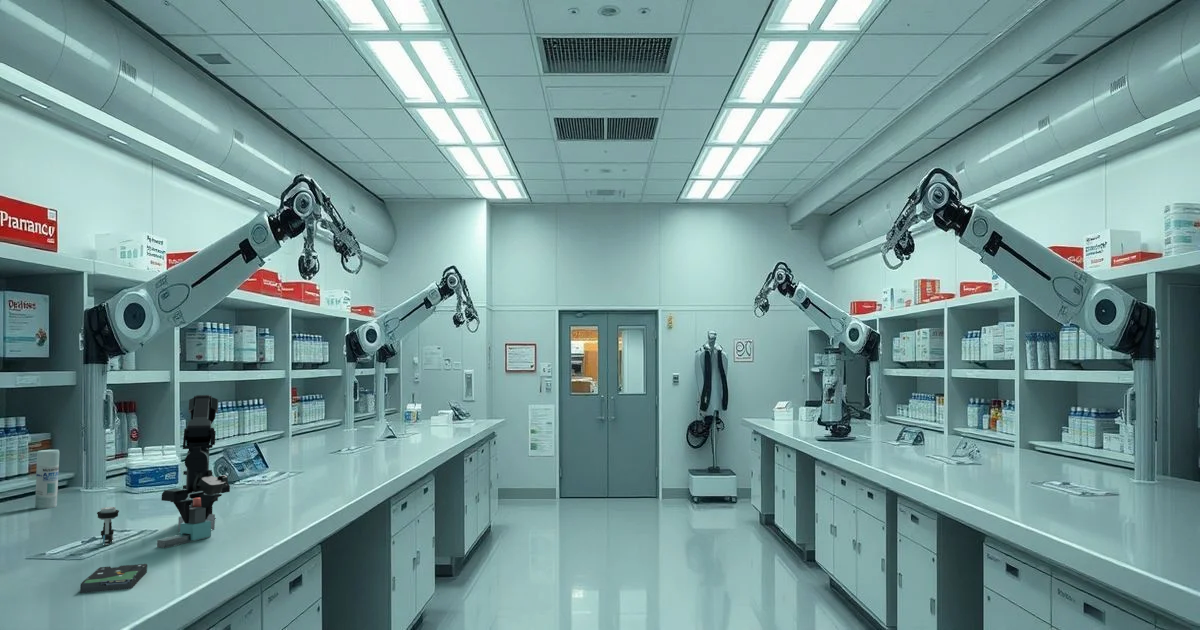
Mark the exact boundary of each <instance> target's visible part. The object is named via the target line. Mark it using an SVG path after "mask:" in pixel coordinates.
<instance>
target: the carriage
mask: <svg viewBox="0 0 1200 630" xmlns="http://www.w3.org/2000/svg"><path fill="white" fill-rule="evenodd" d="M205 518H206V508H203V507H194V508H190V512H189V522H188V523H187V524H186V523H181V525H180V532H179V535H181V534H185V533H186V534H191V541H192V542H194V541H193V540H196V541H198V540H197V539H200V540H203V539H202V538H205V539H207V538H206V537H209V538H211V537H212V530H211V521H206V520H205ZM210 536H211V537H210Z"/></svg>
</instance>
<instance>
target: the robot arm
mask: <svg viewBox="0 0 1200 630" xmlns="http://www.w3.org/2000/svg"><path fill="white" fill-rule="evenodd" d="M187 411H188V413H189V414H190V420H189V421H188V422H187V425H186V428H184V429H183V441H182V449H183V450H187V453H186V456H185V458H184V466H185V468H186V470H184V471H183V472H182V473H183V475H184V476H186V479H185V480H186V481H185V484H184V485H182V488H172V489H165V490H163V492H162V493H161V501H164V502H170V503H173V505H174V506H175V507H176V508H177V510H178V512H179V514H180V517H182V519H183V521H184V523H186V524H187V523H188V522H189V512H190V506H193V498H199V497H200V498H201V506H202V507H203V508H206V518H205V519H207V518H208V515H209V514H213V505H214V503H215V502H218V501H219V497H222V496H223V494H227V493H230V491H231V485H230V483H229V482H228V479H229V478H228V476H227V475H225V474H223V475H219V476H214V475H213V471H212V469H210V449H212V448H213V446H215V445H216V435H217V434H216V433H217V432H216V430H215V428H214V427H212V424H213V423H214V420H215V419H216V416H217V415H216V414H218V413H219V399H218V398H215V397H212V395H210V394H197V395H194V396H193V398H190V399H188V410H187ZM215 519H216V517H215Z"/></svg>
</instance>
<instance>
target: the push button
mask: <svg viewBox="0 0 1200 630" xmlns="http://www.w3.org/2000/svg"><path fill="white" fill-rule="evenodd" d="M119 513H120V510H119V509H116V506H108V507H107V506H105V507H102V508H100V511H97V512H96V514H97V518H98V519H99V520H101V521H102V520H103V527H102V530H101V531H100V536H101V538H100V540H102V541H100V543H101V544H102V545H103V544H104V546H109V545H108V544H110V545H111V543H112V542H111V541H112V540H113V541H114V532H115V529H113V527H112V523H113V522H112V520H114V519H116V517H117V518H118V517H119ZM110 542H111V543H110Z"/></svg>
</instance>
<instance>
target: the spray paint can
mask: <svg viewBox="0 0 1200 630" xmlns="http://www.w3.org/2000/svg"><path fill="white" fill-rule="evenodd" d="M60 453H61V452H60V449H42V450H38V451H37V453H36V469H35V470H36V473H35V497H34V498H35V500H34V503H35V504H34V507H35V509H38V510H39V509H40V510H43V509H51V508H56V507H57V505H58V490H59V487H58V486H59V471H60V470H59V468H60Z"/></svg>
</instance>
